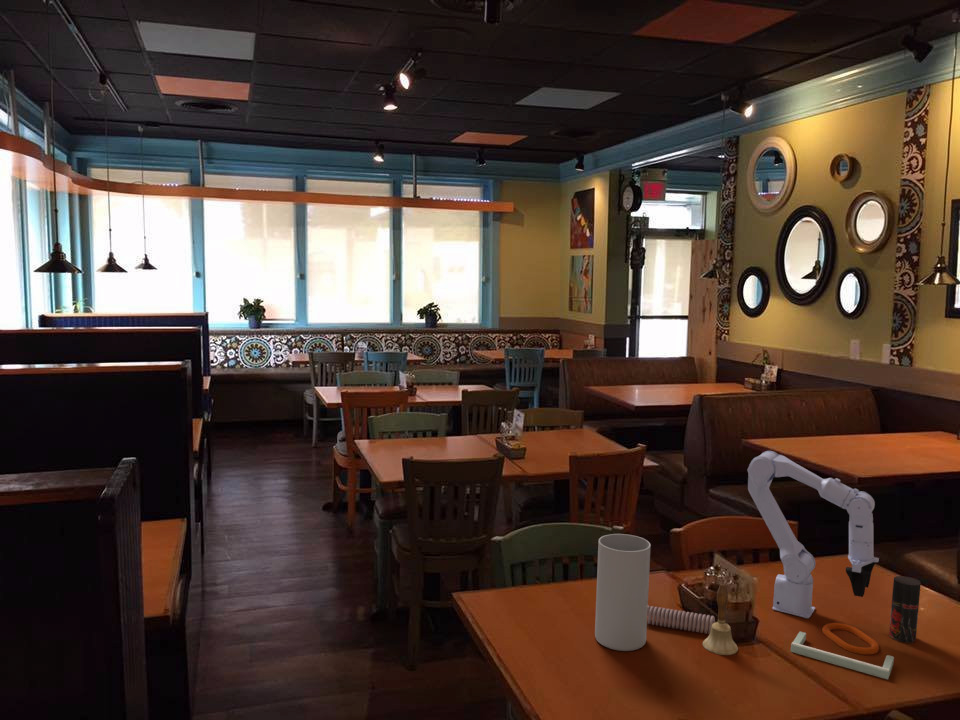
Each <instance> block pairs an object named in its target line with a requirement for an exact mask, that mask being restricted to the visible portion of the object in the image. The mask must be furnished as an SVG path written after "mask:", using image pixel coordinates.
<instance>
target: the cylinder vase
mask: <svg viewBox="0 0 960 720" xmlns="http://www.w3.org/2000/svg"><path fill="white" fill-rule="evenodd" d="M651 546H652V545H651V543H650V542H649V541H648V540H647V539H645V538H644V537H640V536H637V535H632V534H628V533H627V534H623V533H611V534H606V535H602V536H601V537H600V538H598V546H597V547H598V548H597V549H598V550H597V571H596V572H597V573H596V596H595V597H596V598H595V600H596V601H595V621H594V623H595V625H594V637H595V639H596V641H597V642H598V643H599V644H600V645H602V646H603V647H606V648H607V649H611V650H614V651H619V652H620V651H621V652H632V651H635V650H639V649H640V648H643V646H644V645H646V642H647V631H648V630H647V629H648V616H647V611H648V605H649V604H648V603H649V588H650V587H649V583H650V563H651Z"/></svg>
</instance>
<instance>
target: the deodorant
mask: <svg viewBox="0 0 960 720" xmlns="http://www.w3.org/2000/svg"><path fill="white" fill-rule="evenodd" d="M921 583H922V582H921V581H920V580H919V579H916V578H914V577H910V576H906V575H905V576H904V575H897V576H894V577H893V584H892V594H891V608H890V609H891V610H890V620H889V621H890V622H889V630H888V631H889V633H888V635H889V637H890V638H892V639H893V640H895V641H896V642H901V643H903V644H904V643H906V644H912V643H915V642H916V641H917V629H918V628H917V627H918V620H919V619H918V618H919V606H920V596H921Z"/></svg>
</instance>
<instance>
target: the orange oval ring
mask: <svg viewBox="0 0 960 720" xmlns="http://www.w3.org/2000/svg"><path fill="white" fill-rule="evenodd" d="M821 629H822V633H823V635H824V636H825V637H826V638H828V639H829V640H831V642H834V643H835V644H836V645H838V646H839V648H841V649H844V650H845V651H848V652H851V653H855V654H857V655H858V654H859V655H864V656H865V655H866V656H867V655H874V654H877V653H878V652H879V651H880V645H879V643H878V642H877V641H876V640H874V639H873V638H871V637H870V636H869V635H867V634H866V633H865V632H863V631H862V630H860V629H859V628H858V627H855V626H852V625H850V624H846V623H840V622H831V623H826V624H825V625H823V627H822V628H821ZM832 630H840V631H841V630H842V631H845V632H849V633H851V634H853V635H855V636H856V637H858V638H859V639H861V640H862V641H864V642H865V643H866V644H867V645H869V646H870V647H860V646H857V645H852V644H850V643H847V642H845V640H843V639H841V638H840V637H839V636H838V635H836V634H835V633H833V632H832Z"/></svg>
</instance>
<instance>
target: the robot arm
mask: <svg viewBox="0 0 960 720" xmlns="http://www.w3.org/2000/svg"><path fill="white" fill-rule="evenodd" d="M747 473H748V475H747V476H748V477H747V490H748V493H749V495H750V496H751V498H752V500H753V503H754V504H755V506H756V508H757V510H758V511H759V514H760V516H761V517H762V519H763V520H764V522H765V525H766V527H767V528H768V530H769V532H770V533H771V536H772V538H773V540H774V541H775V544H776V545H777V546H778V549H779V557H780V558H779V559H780V561H781V562H782V565H783V573H784V574H779V573H778V574H777V575H776V577H775V582H774V588H773V601H772V602H773V603H772V605H773V606H772V610H774V611H777V612H780V613H785V614H790V615H793V616H797V617H800V618H804V619H810V618H811V616H812V614H813V613H814V612H815V610H816V607H815V606H812V601H813V592H814V591H813V589H814V578H813V576H812V572H813V571H814V569H815V567H816V559H815V557H814V556H813V554H811V552H809V551H808V550H807V549H806V548H805V546H804V545H803V544H802V543H801V542H800V541H798V539H797V538H796V535H795V534H794V532H793V530H792V529H791V527H790V525H789V523H788V521H787V519H786V517H785V515H784V514H783V512H782V510H781V508H780V506H779V504H778V502H777V501H776V498H775V497H774V495H773V493H772V491H771V489H770V487H771V484H772V481H773V479H774V478H782V477H790V478H792V479H794V480H796V481H798V482H800V483H802V484H804V485H806V486H809V488H810V487H811V488H813V489H815V490H817V491H818V494H819V496H820V498H823V499H825V500H826V501H828V502H830V503H831V504H834V505H836V506H838V507H839V508H841V509H843V510H846V511H847V514H848V515H849V518H848V519H849V521H848V555H847V558H848V559H847V560H849V562H850V564H851V567H850V566H847V567H845V573H846V574H847V576H848V578H849V580H850V584H851V585H850V586H851V588H852V593H853V596H855V597H860V598H863V597H864V595H865V591H866V588H869V585H870V581H871V576H872V572H873V569H874V567H875V565H876V563H879V559H880V558H879V557H875V556H874V554H875V553H874V522H873V521H874V517H873V515H874V514H873V511H874V509H875V505H876V504H875V503H876V502H875V499H874V498H873V496H872V495H870V494H869V493H868V492H867V491H864V490H863V491H860V490H859V489H857V488H856V487H855V488H852V487H850V486H848V485H846V484H844V483H842V482H841V479H840V478H837V477H836V478H833V477H828V478H822V477H820V476H819V475H817V474H816V473H814V472H812V471H810V470H808V469H806V468H805V467H803V466H801V465H800V464H797V463H796V462H794V461H793V460H791V459H790V458H788V457H786V456H785V455H783V454H778V453H777V452H775V451H772V450H766V451H763V452H761V454H760V455H758V456H755V457H754V458H753V459H752V460H751V461H750V463H749V465H748V468H747Z"/></svg>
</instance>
